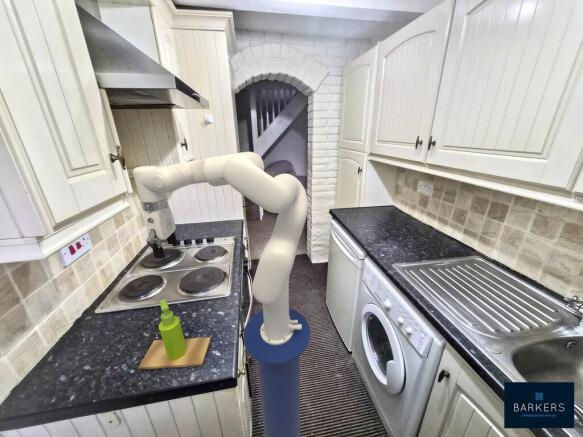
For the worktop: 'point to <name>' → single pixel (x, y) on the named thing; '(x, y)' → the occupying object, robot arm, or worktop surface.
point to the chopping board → (192, 357)
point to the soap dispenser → (171, 333)
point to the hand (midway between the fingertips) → (166, 250)
